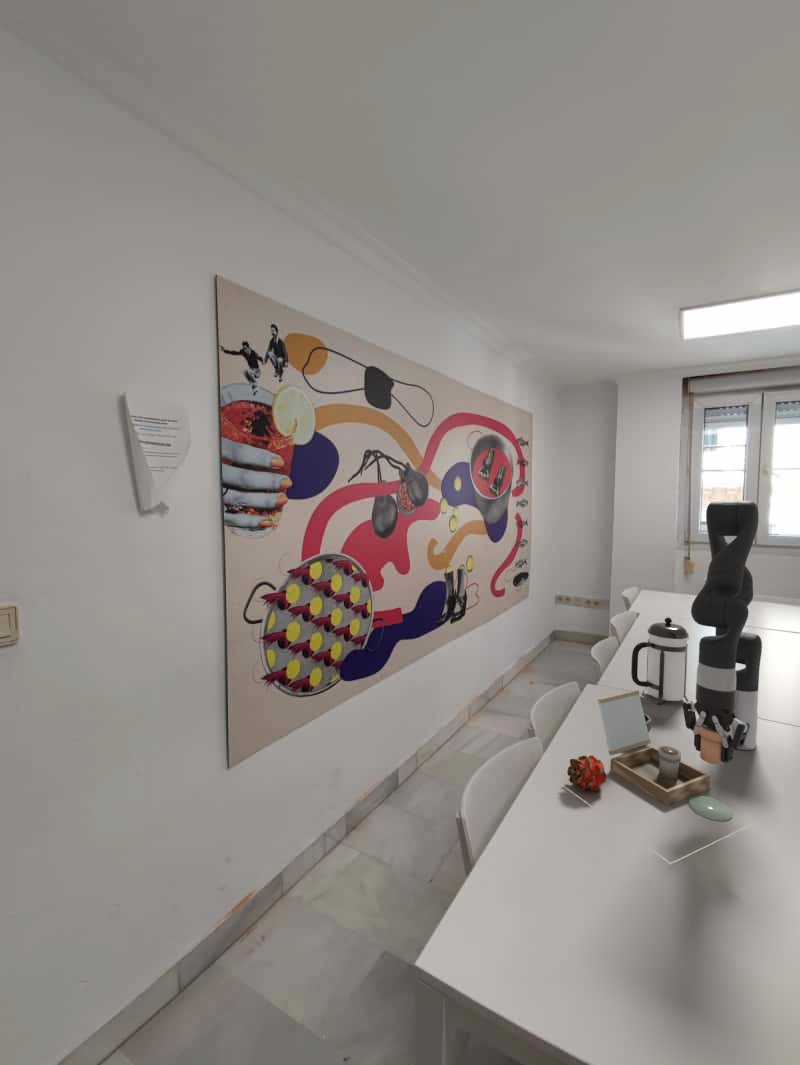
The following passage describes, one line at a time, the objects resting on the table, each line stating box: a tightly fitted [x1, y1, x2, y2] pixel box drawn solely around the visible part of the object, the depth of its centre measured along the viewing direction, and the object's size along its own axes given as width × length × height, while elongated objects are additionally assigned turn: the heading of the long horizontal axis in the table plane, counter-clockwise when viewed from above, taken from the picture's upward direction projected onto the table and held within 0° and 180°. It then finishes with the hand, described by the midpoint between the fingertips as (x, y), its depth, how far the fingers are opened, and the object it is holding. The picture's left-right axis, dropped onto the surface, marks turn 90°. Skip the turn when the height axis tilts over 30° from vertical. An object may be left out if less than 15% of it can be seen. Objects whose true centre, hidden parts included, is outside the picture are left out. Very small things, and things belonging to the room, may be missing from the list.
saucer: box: [688, 795, 733, 822], centre depth 110 cm, size 8×8×1 cm
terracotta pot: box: [698, 725, 728, 766], centre depth 109 cm, size 6×6×7 cm
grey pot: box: [657, 745, 682, 780], centre depth 124 cm, size 5×5×7 cm
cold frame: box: [609, 745, 711, 807], centre depth 125 cm, size 16×23×12 cm
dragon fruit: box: [567, 754, 607, 793], centre depth 119 cm, size 8×8×12 cm
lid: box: [597, 690, 651, 756], centre depth 131 cm, size 15×14×1 cm
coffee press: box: [630, 616, 690, 706], centre depth 171 cm, size 17×16×30 cm
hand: (712, 755), depth 110 cm, fingers closed on terracotta pot, 5 cm apart
